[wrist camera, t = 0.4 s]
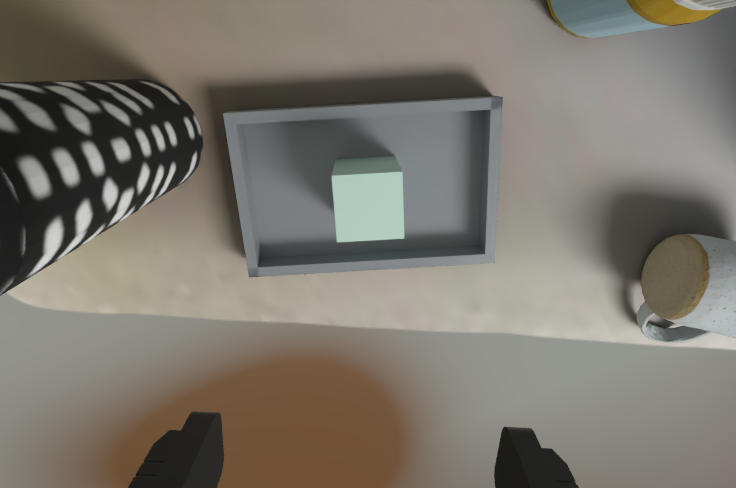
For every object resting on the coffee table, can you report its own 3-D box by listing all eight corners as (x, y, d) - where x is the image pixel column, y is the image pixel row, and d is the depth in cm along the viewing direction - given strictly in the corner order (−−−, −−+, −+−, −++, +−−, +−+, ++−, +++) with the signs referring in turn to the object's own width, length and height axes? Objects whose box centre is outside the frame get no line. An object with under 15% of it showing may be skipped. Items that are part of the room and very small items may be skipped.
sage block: (395, 156, 35) (402, 171, 29) (397, 213, 37) (404, 238, 31) (335, 159, 35) (331, 175, 29) (340, 216, 37) (337, 242, 31)
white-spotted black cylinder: (179, 67, 33) (-52, 58, 14) (218, 177, 36) (65, 289, 17) (72, 94, 34) (-287, 119, 15) (118, 200, 37) (-134, 334, 18)
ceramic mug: (655, 217, 38) (724, 253, 31) (746, 234, 39) (833, 272, 31) (608, 326, 42) (660, 380, 35) (691, 339, 42) (758, 395, 35)
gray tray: (492, 95, 34) (502, 97, 32) (486, 251, 39) (494, 262, 36) (232, 110, 34) (222, 113, 32) (255, 265, 39) (249, 277, 36)
